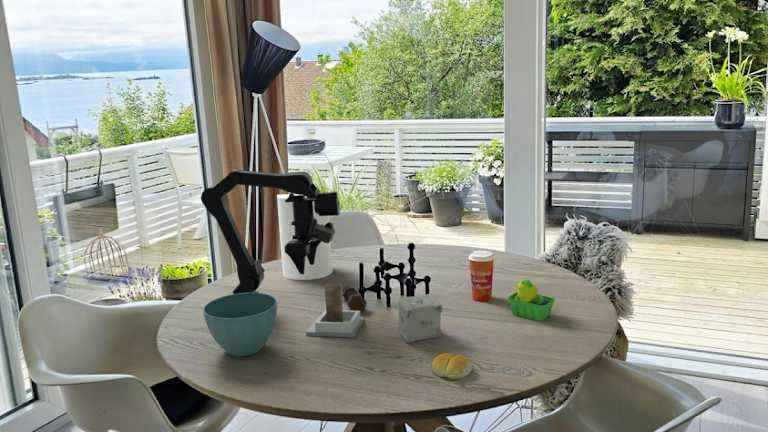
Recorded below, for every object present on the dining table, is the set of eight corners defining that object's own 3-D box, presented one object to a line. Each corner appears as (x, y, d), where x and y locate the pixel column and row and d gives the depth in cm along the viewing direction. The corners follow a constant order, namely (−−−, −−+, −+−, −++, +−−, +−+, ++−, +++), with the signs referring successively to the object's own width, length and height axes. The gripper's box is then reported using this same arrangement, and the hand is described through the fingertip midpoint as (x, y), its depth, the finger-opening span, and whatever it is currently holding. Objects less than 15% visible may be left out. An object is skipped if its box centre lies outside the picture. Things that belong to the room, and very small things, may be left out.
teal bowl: (247, 371, 162) (242, 322, 160) (192, 356, 172) (187, 310, 169) (294, 343, 178) (291, 298, 175) (241, 331, 187) (237, 288, 184)
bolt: (350, 301, 213) (360, 316, 199) (336, 295, 212) (345, 310, 197) (358, 285, 213) (369, 298, 199) (344, 278, 211) (354, 292, 197)
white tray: (306, 335, 182) (305, 323, 182) (319, 319, 194) (318, 307, 193) (353, 337, 180) (352, 324, 179) (363, 320, 191) (363, 309, 190)
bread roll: (441, 361, 163) (441, 345, 163) (476, 369, 159) (475, 353, 158) (425, 375, 157) (424, 358, 156) (460, 383, 152) (460, 366, 151)
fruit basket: (556, 315, 189) (556, 276, 187) (539, 325, 183) (540, 284, 180) (520, 307, 197) (520, 269, 194) (503, 315, 190) (503, 277, 188)
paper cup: (466, 301, 203) (465, 256, 200) (472, 293, 210) (472, 249, 207) (492, 303, 200) (491, 257, 197) (497, 295, 207) (497, 251, 204)
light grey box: (407, 345, 173) (406, 306, 171) (397, 333, 181) (396, 296, 179) (443, 339, 176) (442, 301, 174) (432, 328, 184) (431, 291, 181)
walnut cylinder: (327, 328, 184) (325, 288, 182) (326, 322, 188) (323, 284, 186) (344, 326, 184) (341, 287, 182) (342, 320, 189) (339, 282, 187)
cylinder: (330, 279, 230) (325, 197, 224) (279, 281, 231) (272, 199, 225) (334, 264, 247) (329, 188, 241) (286, 266, 248) (281, 190, 242)
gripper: (321, 224, 183) (324, 279, 187) (339, 209, 201) (342, 260, 204) (281, 224, 186) (286, 279, 189) (303, 209, 203) (307, 260, 207)
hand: (307, 269), depth 197 cm, fingers open, 9 cm apart
